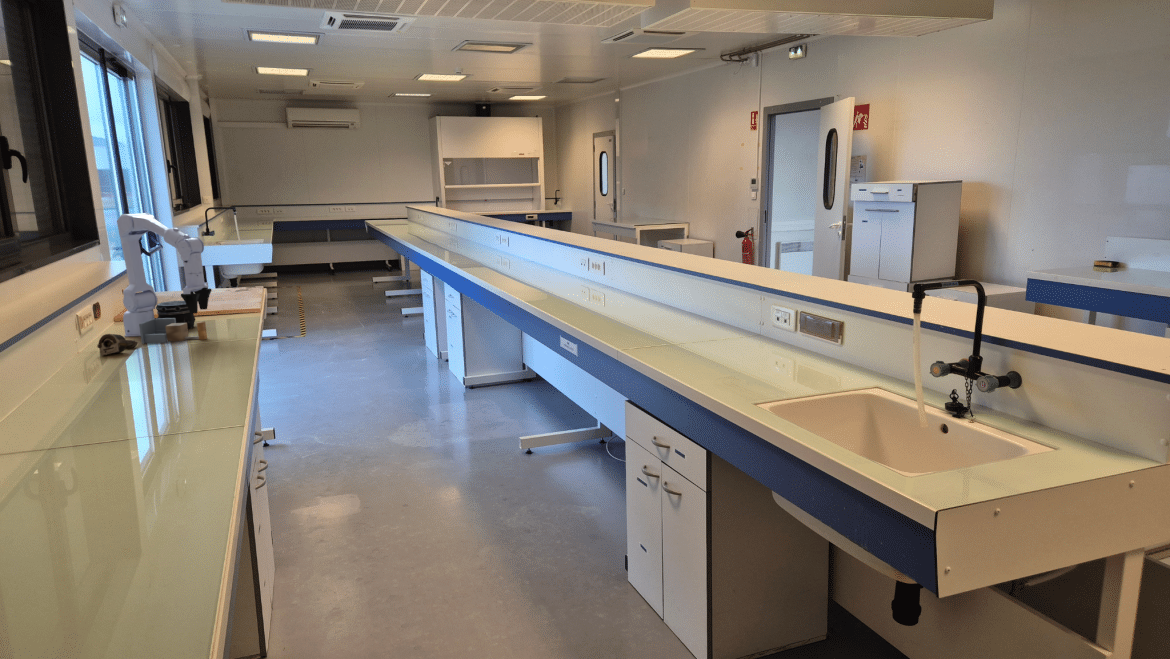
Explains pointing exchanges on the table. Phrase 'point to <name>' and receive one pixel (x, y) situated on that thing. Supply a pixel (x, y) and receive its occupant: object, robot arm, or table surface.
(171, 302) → the container
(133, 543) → the table surface
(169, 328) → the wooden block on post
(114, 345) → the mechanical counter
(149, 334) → the grey u-shaped cradle
